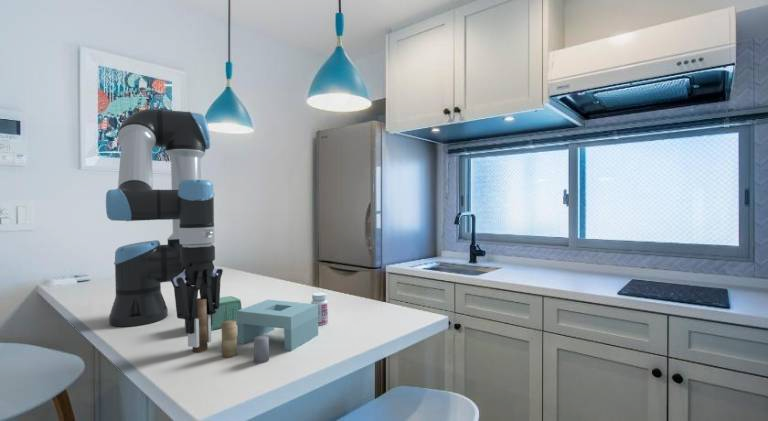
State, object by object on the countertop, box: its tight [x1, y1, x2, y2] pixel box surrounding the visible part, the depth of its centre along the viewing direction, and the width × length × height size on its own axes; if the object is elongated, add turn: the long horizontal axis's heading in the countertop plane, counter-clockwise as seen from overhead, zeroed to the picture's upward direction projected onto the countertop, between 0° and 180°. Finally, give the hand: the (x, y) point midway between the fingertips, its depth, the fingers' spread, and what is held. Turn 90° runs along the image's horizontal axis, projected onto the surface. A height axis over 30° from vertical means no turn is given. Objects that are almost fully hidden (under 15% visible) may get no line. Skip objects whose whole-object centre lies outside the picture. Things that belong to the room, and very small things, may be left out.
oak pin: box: [220, 321, 238, 359], centre depth 91 cm, size 3×3×8 cm
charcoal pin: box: [253, 335, 270, 364], centre depth 88 cm, size 3×3×5 cm
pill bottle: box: [310, 292, 329, 326], centre depth 114 cm, size 5×5×8 cm
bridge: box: [236, 299, 319, 352], centre depth 102 cm, size 16×12×8 cm
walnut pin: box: [192, 297, 209, 353], centre depth 94 cm, size 3×3×12 cm
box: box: [184, 295, 243, 331], centre depth 113 cm, size 7×14×8 cm, turn 134°
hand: (199, 343), depth 94 cm, fingers closed on walnut pin, 3 cm apart
